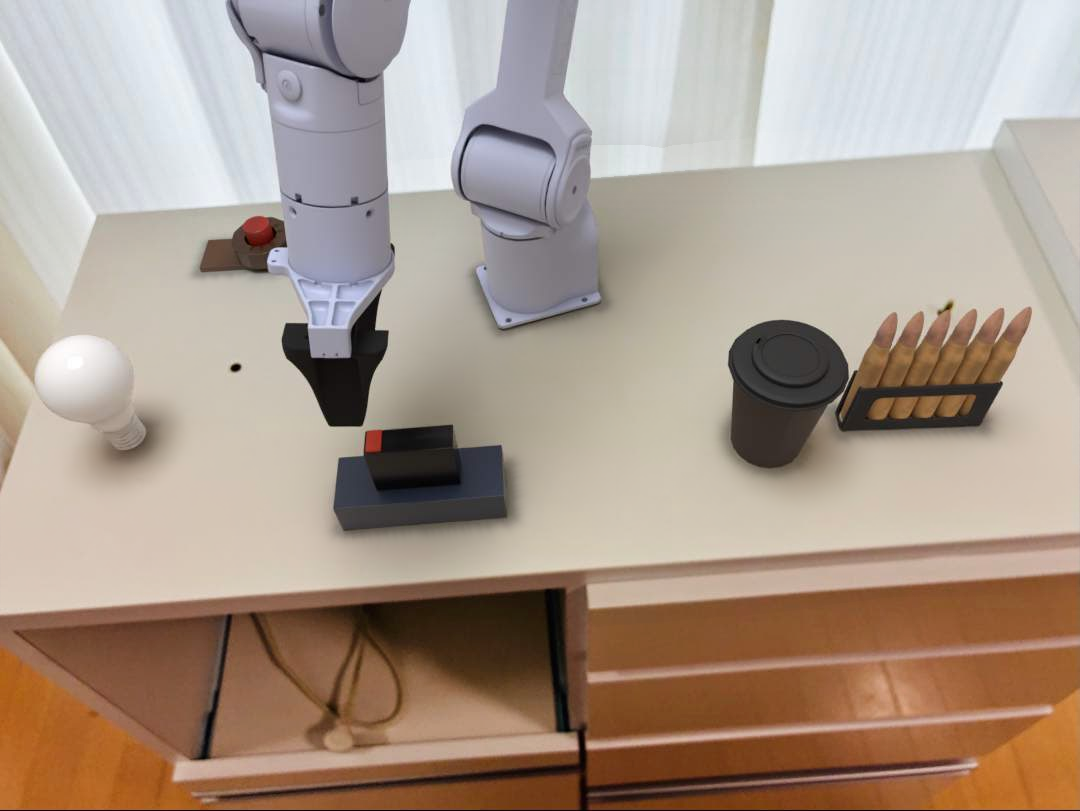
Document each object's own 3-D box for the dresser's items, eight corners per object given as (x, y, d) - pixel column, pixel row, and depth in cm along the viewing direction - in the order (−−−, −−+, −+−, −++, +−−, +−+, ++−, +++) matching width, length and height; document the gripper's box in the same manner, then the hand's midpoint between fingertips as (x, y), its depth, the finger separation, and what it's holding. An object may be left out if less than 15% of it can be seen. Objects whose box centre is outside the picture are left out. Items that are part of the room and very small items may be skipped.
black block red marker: (460, 461, 60) (452, 422, 56) (460, 484, 58) (452, 446, 55) (378, 467, 60) (364, 428, 56) (376, 491, 58) (362, 453, 55)
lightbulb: (149, 480, 63) (80, 390, 55) (76, 468, 64) (-4, 378, 56) (186, 415, 67) (127, 321, 59) (117, 405, 68) (48, 311, 60)
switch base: (504, 467, 63) (501, 444, 60) (507, 517, 60) (504, 495, 58) (347, 479, 63) (338, 457, 60) (343, 530, 60) (332, 509, 58)
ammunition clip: (839, 431, 63) (884, 323, 54) (834, 412, 65) (876, 303, 55) (980, 426, 63) (1050, 316, 54) (972, 407, 64) (1039, 296, 55)
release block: (333, 233, 80) (327, 213, 79) (326, 270, 77) (320, 251, 75) (211, 239, 81) (202, 220, 79) (199, 277, 77) (190, 258, 75)
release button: (276, 229, 78) (270, 214, 77) (272, 246, 77) (266, 231, 75) (251, 230, 78) (245, 216, 77) (246, 247, 77) (240, 233, 75)
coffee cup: (707, 397, 66) (723, 310, 58) (810, 397, 66) (841, 309, 58) (717, 483, 61) (737, 400, 53) (829, 484, 61) (865, 400, 53)
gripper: (277, 131, 50) (301, 321, 58) (231, 248, 38) (269, 462, 47) (396, 135, 50) (402, 322, 59) (385, 251, 39) (395, 460, 48)
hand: (351, 384), depth 53 cm, fingers open, 7 cm apart
